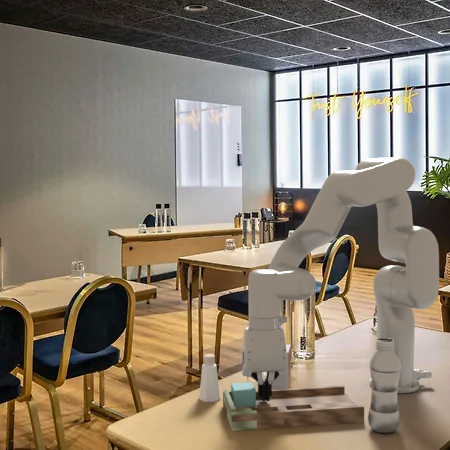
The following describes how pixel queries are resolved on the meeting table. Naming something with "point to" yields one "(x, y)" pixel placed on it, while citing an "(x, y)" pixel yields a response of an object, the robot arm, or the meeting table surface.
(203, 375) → the salt shaker
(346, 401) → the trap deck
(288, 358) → the small box
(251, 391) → the block
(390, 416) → the plastic bottle
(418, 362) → the meeting table surface
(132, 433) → the meeting table surface
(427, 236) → the robot arm
